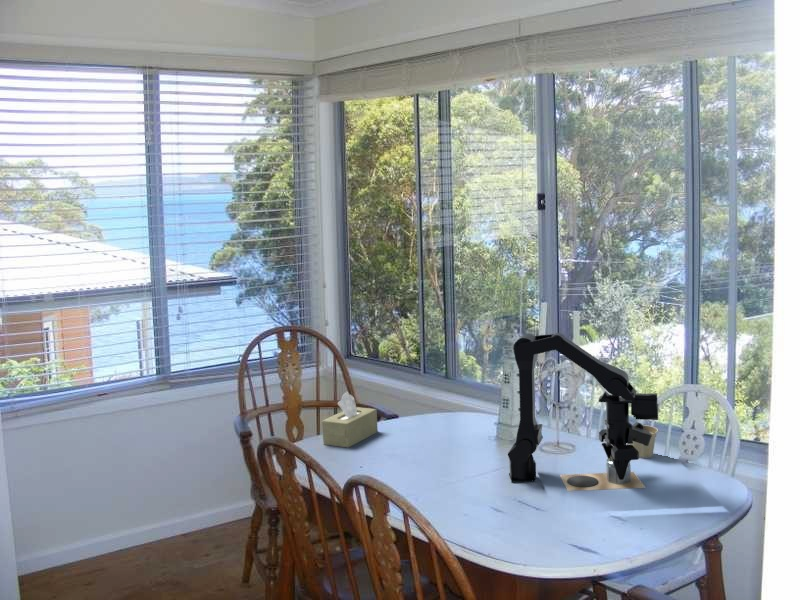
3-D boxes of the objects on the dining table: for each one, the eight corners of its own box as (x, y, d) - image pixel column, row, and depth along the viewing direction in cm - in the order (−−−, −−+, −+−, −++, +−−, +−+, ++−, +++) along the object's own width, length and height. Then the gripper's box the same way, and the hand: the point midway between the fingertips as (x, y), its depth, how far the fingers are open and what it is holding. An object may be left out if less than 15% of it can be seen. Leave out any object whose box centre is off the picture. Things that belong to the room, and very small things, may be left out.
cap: (610, 484, 218) (609, 462, 217) (604, 476, 224) (604, 454, 223) (633, 483, 218) (632, 461, 217) (627, 475, 223) (626, 453, 223)
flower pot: (660, 464, 235) (659, 434, 234) (625, 463, 237) (625, 434, 236) (656, 453, 244) (656, 424, 243) (623, 453, 246) (623, 424, 245)
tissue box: (354, 429, 285) (351, 384, 283) (378, 432, 280) (375, 386, 278) (322, 445, 269) (319, 397, 267) (348, 448, 264) (345, 399, 262)
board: (568, 495, 215) (567, 476, 214) (559, 479, 227) (559, 460, 226) (645, 491, 215) (645, 472, 214) (633, 475, 227) (633, 457, 226)
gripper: (659, 427, 209) (659, 486, 211) (638, 407, 227) (639, 462, 229) (614, 429, 209) (615, 488, 211) (597, 409, 228) (598, 464, 230)
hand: (618, 475), depth 220 cm, fingers closed on cap, 6 cm apart
